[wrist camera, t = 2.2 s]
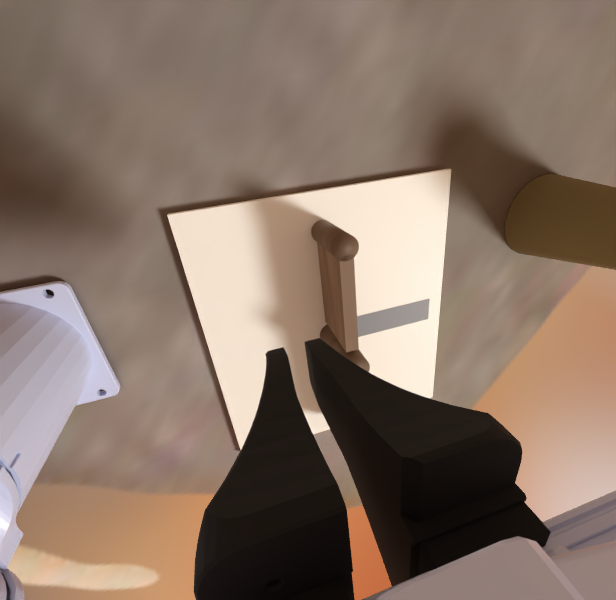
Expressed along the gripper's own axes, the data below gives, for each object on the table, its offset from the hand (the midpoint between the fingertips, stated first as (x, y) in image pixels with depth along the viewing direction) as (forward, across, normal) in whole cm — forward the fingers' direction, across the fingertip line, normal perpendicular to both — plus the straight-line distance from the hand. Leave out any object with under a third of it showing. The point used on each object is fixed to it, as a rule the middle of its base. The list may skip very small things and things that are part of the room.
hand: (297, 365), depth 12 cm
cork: (+10, -22, 0) cm, 24 cm away
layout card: (+9, -4, +5) cm, 11 cm away
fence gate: (+9, -4, 0) cm, 10 cm away
